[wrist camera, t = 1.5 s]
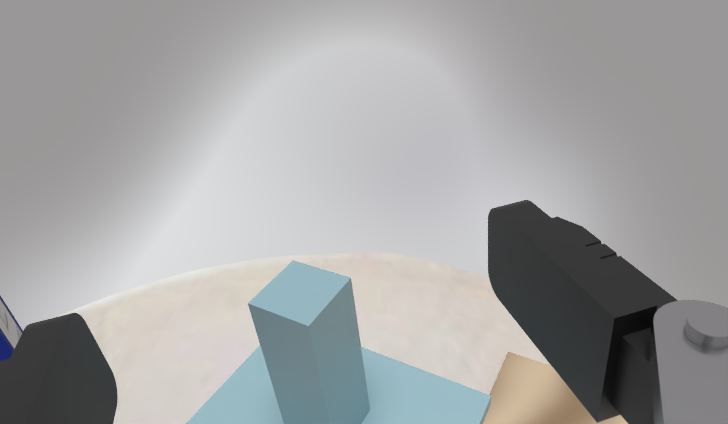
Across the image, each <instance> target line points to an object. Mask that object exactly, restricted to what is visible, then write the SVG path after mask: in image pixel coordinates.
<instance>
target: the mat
mask: <svg viewBox="0 0 728 424" xmlns="http://www.w3.org/2000/svg"><path fill="white" fill-rule="evenodd" d="M490 396H491V405H490V408H489V410H488V412H487V415H486V417H485V420H484V422H483V424H628V423H627V422H626V421H625V419H624V418H623V417H622V416H621V415H618V416H615V417H612V418H609V419H607V420H604V421H601V422H598V423H597V422H596V421H595V420H594V418H593V417H592V416H591V415H590V413H589V412H588V411H587V410H586V408H585V407H584V406H583V405H582V403H581V402H580V401H579V400H578V398H577V397H576V396H575V394H574V393H573V392H572V391H571V389H570V388H569V387H568V386H567V384H566V383H565V382H564V381H563V379H562V378H561V377H560V376H559V374H558V373H557V372H556V371H555V369H554V368H553V367H552V366H550V365H547V364H544V363H541V362H538V361H535V360H532V359H529V358H526V357H523V356H520V355H516V354H513V353H510V352H508V353H507V356H506V358H505V360H504V363H503V365H502V367H501V370H500V372H499V374H498V377H497V379H496V381H495V384H494V386H493V388H492V391H491V393H490Z"/></svg>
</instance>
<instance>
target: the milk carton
mask: <svg viewBox="0 0 728 424" xmlns="http://www.w3.org/2000/svg"><path fill="white" fill-rule="evenodd" d="M22 333H23V331H22V329H21V327H20V326H19V324H18V323H17V321H16V320H15V318H14V316H13V315H12V314H11V312H10V310H9V309H8V307H7V306H6V304H5V302H4V301H3V299H2V298H1V296H0V361H2V360H6V359H10V357H11V355H12V353H13V351H14V349H15V347H16V345H17V343H18V341H19V339H20V337H21V335H22Z"/></svg>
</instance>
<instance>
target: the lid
mask: <svg viewBox="0 0 728 424" xmlns="http://www.w3.org/2000/svg"><path fill="white" fill-rule="evenodd" d="M248 305H249V308H250V312H251V315H252V319H253V322H254V325H255V329H256V332H257V335H258V339H259V342H260V346H259V347H258V348H257V349H256V350H255V351H254V352H253V353H252V354H251V355H250V356H249V358H248V359H247V360H246V361H245V362H244V363H243V364H242V365H241V366H240V367H239V368H238V369H237V370H236V371H235V372H234V373H233V375H232V376H231V377H230V378H229V379H228V380H227V381H226V382H225V383H224V384H223V385H222V386H221V387H220V388H219V389H218V390H217V391H216V393H215V394H214V395H213V396H212V397H211V398H210V399H209V400H208V401H207V402H206V403H205V404H204V405H203V406H202V407H201V408H200V410H199V411H198V412H197V413H196V414H195V415H194V416H193V417H192V418H191V419H190V420H189V421H188V422H187V423H186V424H483V422H484V420H485V417H486V415H487V412H488V410H489V408H490V405H491V396H490V395H487V394H485V393H482V392H479V391H477V390H474V389H471V388H469V387H466V386H463V385H461V384H458V383H455V382H453V381H450V380H447V379H445V378H442V377H439V376H437V375H434V374H431V373H429V372H426V371H423V370H421V369H418V368H415V367H413V366H410V365H407V364H405V363H402V362H400V361H397V360H394V359H392V358H389V357H386V356H384V355H381V354H378V353H376V352H373V351H370V350H368V349H365V348H362V347H361V344H360V337H359V330H358V323H357V317H356V310H355V303H354V296H353V289H352V283H351V278H349V277H346V276H343V275H339V274H336V273H333V272H329V271H326V270H323V269H320V268H316V267H313V266H310V265H306V264H303V263H300V262H296V261H292V262H291V263H290V264H289V265H288V266H287V267H286V268H285V269H284V270H283V271H282V272H281V273H280V274H278V275H277V276H276V277H275V278H274V279H273V280H272V281H271V282H270V283H269V284H268V285H267V286H266V287H265V288H264V289H263V290H262V291H260V292H259V293H258V294H257V295H256V296H255V297H254V298H253V299H252V300H251V301H250V302H249V303H248Z"/></svg>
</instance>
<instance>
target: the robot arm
mask: <svg viewBox="0 0 728 424" xmlns="http://www.w3.org/2000/svg"><path fill="white" fill-rule="evenodd" d="M488 273H489V278H490V282H491V285H492V288H493V290H494V292H495V294H496V296H497V297H498V299H499V300H500V301H501V303H502V304H503V305H504V306H505V308H506V309H507V310H508V312H509V313H510V314H511V315H512V317H513V318H514V319H515V320H516V322H517V323H518V324H519V325H520V327H521V328H522V329H523V330H524V332H525V333H526V334H527V335H528V337H529V338H530V339H531V340H532V342H533V343H534V344H535V345H536V347H537V348H538V349H539V350H540V352H541V353H542V354H543V356H544V357H545V358H546V359H547V361H548V362H549V363H550V364H551V366H552V367H553V368H554V369H555V371H556V372H557V373H558V374H559V376H560V377H561V378H562V379H563V381H564V382H565V383H566V384H567V386H568V387H569V388H570V389H571V391H572V392H573V393H574V394H575V396H576V397H577V398H578V400H579V401H580V402H581V403H582V405H583V406H584V407H585V408H586V410H587V411H588V412H589V413H590V415H591V416H592V417H593V418H594V420H595V421H596V422H597V423H598V422H601V421H604V420H607V419H609V418H612V417H615V416H618V415H621V416H622V417H623V418H624V419H625V421H626V422H627V423H628V424H728V308H726V307H723V306H721V305H717V304H714V303H710V302H705V301H697V300H681V301H678V300H676V299H675V298H674V297H673V296H671V295H670V294H669V293H667V292H666V291H665V290H663V289H662V288H661V287H660V286H658V285H657V284H656V283H654V282H653V281H652V280H651V279H649V278H648V277H647V276H645V275H644V274H643V273H641V272H640V271H639V270H638V269H636V268H635V267H634V266H632V265H631V264H630V263H629V262H627V261H626V260H625V259H623V258H622V257H621V256H619V257H618V256H617V255H616V252H614V251H613V250H612V249H610V248H609V247H608V246H607V245H605V244H601V241H600V240H599V239H598V238H596V237H595V236H594V235H592V234H591V233H590V232H589V231H587V230H586V229H584V228H583V227H582V226H579V225H577V224H574V223H572V222H569V221H567V220H564V219H561V218H559V217H555V218H551V217H549V216H548V215H547V214H546V213H544V212H543V211H542V210H541V209H540V208H538V207H537V206H536V205H534V204H533V203H532V202H531V201H528V200H524V201H521V202H516V203H512V204H509V205H504V206H500V207H497V208H493V209H491V211H490V213H489V216H488ZM116 407H117V387H116V382H115V378H114V375H113V372H112V370H111V368H110V367H109V365H108V363H107V361H106V359H105V357H104V355H103V354H102V352H101V350H100V348H99V346H98V344H97V342H96V341H95V339H94V337H93V335H92V333H91V331H90V329H89V328H88V326H87V324H86V322H85V321H84V319H83V318H82V317H81V316H80V315H79V314H77V313H72V314H68V315H64V316H60V317H56V318H52V319H48V320H44V321H40V322H36V323H32V324H29V325H28V326H27V327H26V328H25V329H24V331H23V333H22V335H21V337H20V339H19V341H18V343H17V345H16V347H15V349H14V351H13V353H12V355H11V357H10V359H6V360H2V361H0V424H113V421H114V416H115V412H116Z"/></svg>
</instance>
